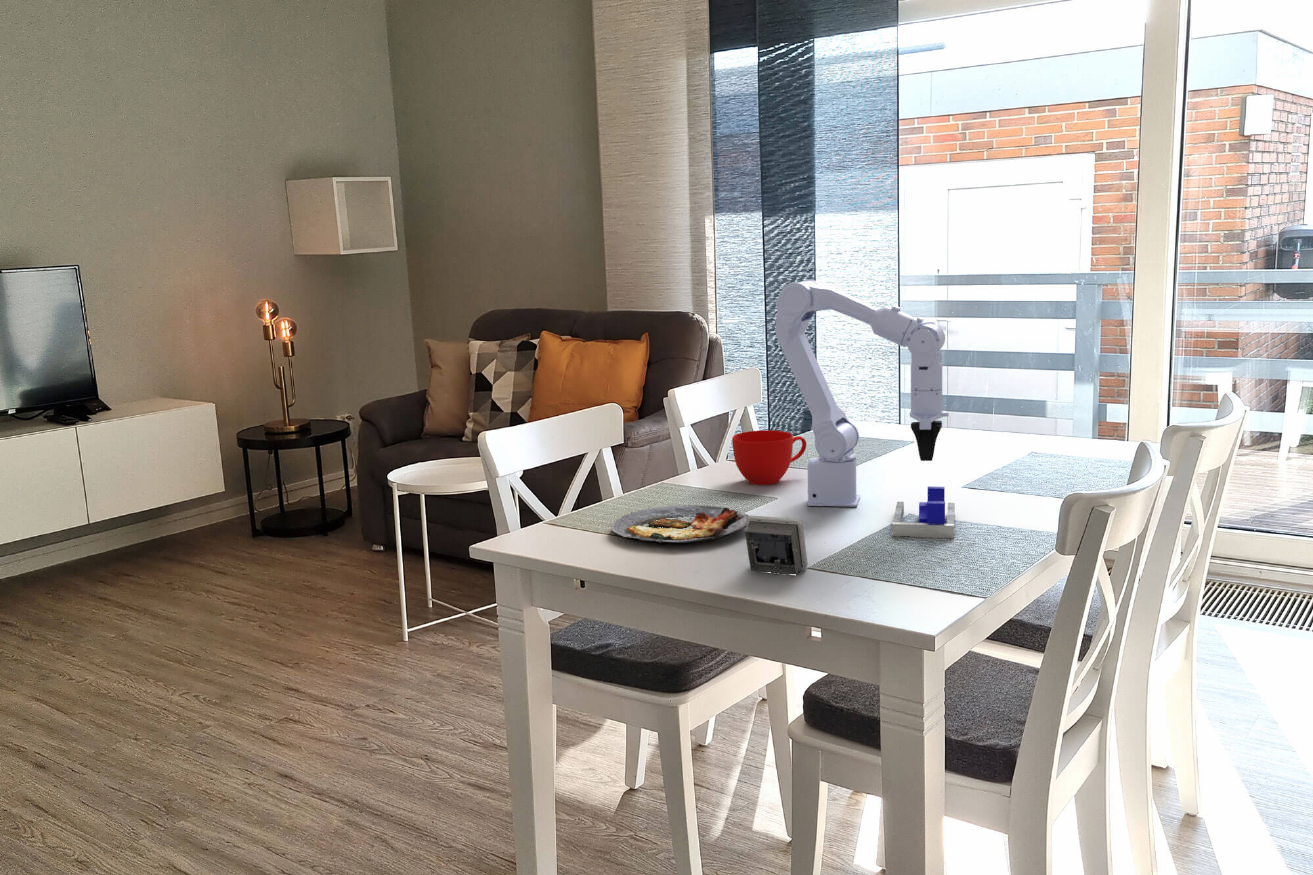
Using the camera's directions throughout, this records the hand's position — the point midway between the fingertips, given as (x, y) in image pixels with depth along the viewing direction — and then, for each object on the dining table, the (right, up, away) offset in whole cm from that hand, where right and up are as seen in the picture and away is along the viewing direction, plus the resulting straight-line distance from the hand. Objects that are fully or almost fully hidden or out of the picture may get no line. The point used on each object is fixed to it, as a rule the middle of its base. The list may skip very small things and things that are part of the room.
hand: (926, 460), depth 204 cm
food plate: (-46, -13, -5) cm, 48 cm away
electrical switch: (-32, -17, -31) cm, 47 cm away
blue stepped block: (-1, -12, -10) cm, 15 cm away
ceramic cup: (-26, -5, +30) cm, 40 cm away
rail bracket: (-2, -11, -8) cm, 14 cm away
